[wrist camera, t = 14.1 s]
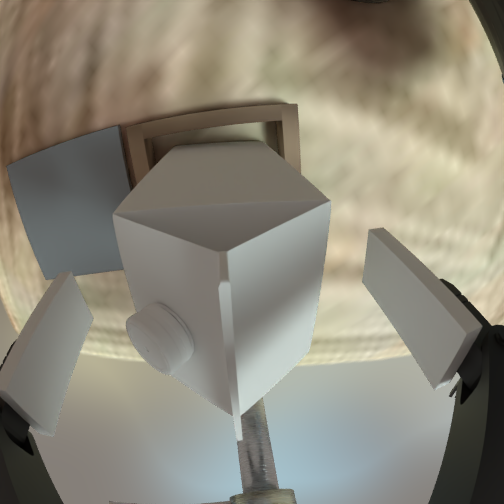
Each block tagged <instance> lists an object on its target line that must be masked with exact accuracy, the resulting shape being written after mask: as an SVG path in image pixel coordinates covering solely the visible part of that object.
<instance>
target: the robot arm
mask: <svg viewBox="0 0 504 504" xmlns="http://www.w3.org/2000/svg"><path fill="white" fill-rule="evenodd" d="M353 1H358V2H366V3H378V2H385V1H389V0H353ZM469 2H470V3H471V5H472V7H473V9H474V11H475V13H476V14H477V16H478V18H479V20H480V22H481V24H482V26H483V28H484V30H485V33H486V35H487V37H488V39H489V41H490V44H491V46H492V48H493V51H494V53H495V56H496V58H497V61H498V63H499V66H500V69H501V72H502V80H503V83H504V0H469ZM362 282H363V284H364V285H365V286H366V288H367V289H368V291H369V292H370V293H371V295H372V296H373V297H374V299H375V300H376V302H377V303H378V305H379V306H380V307H381V309H382V310H383V312H384V313H385V315H386V316H387V317H388V319H389V320H390V322H391V323H392V325H393V326H394V328H395V329H396V331H397V332H398V334H399V335H400V337H401V338H402V340H403V341H404V343H405V344H406V346H407V347H408V349H409V350H410V352H411V353H412V355H413V357H414V358H415V359H416V361H417V363H418V364H419V366H420V367H421V369H422V371H423V373H424V374H425V376H426V377H427V379H428V381H429V382H430V384H431V385H432V387H433V389H434V390H436V389H438V388H440V387H442V386H444V385H446V384H448V383H450V382H451V380H452V378H453V377H454V375H455V374H456V372H458V374H459V375H460V377H461V378H460V379H459V381H458V382H457V384H456V385H455V387H454V388H453V389H452V391H451V392H450V395H449V397H452V396H453V394H454V393H455V391H456V390H457V392H456V396H455V398H456V399H455V406H454V412H453V418H452V423H451V428H450V433H449V437H448V442H447V446H446V450H445V454H444V457H443V461H442V465H441V468H440V471H439V475H438V478H437V481H436V484H435V487H434V490H433V493H432V495H431V498H430V501H429V503H428V504H504V326H503V325H494V326H491V325H490V323H489V322H488V321H487V320H486V319H485V318H484V317H483V316H482V314H481V313H480V312H479V311H478V310H477V309H476V308H475V307H474V306H473V305H472V304H471V303H470V302H468V299H467V298H466V297H465V296H464V295H461V292H460V291H459V290H458V289H457V288H456V287H455V286H454V285H453V284H451V283H449V282H447V281H446V280H444V279H438V278H437V277H436V276H435V275H434V274H433V273H432V272H431V271H430V270H429V269H428V268H427V267H426V266H425V265H424V264H423V263H422V262H421V261H420V260H419V259H418V258H417V257H415V256H414V255H413V254H412V253H411V252H410V251H409V250H408V249H407V248H406V247H405V246H404V245H402V244H401V243H400V242H399V241H398V240H397V239H396V238H395V237H393V236H392V235H391V234H390V233H389V232H388V231H387V230H385V229H384V228H376V229H369V231H368V241H367V249H366V257H365V265H364V272H363V279H362ZM92 321H93V316H92V314H91V312H90V310H89V308H88V306H87V304H86V302H85V300H84V298H83V296H82V294H81V291H80V289H79V287H78V285H77V283H76V280H75V278H74V276H73V273H72V271H69V272H62V273H59V274H58V275H57V276H56V278H55V279H54V281H53V282H52V284H51V285H50V287H49V288H48V289H47V291H46V292H45V294H44V295H43V297H42V299H41V300H40V302H39V303H38V305H37V306H36V308H35V309H34V311H33V313H32V314H31V316H30V318H29V319H28V321H27V323H26V324H25V326H24V328H23V329H22V331H21V333H20V335H19V336H18V339H17V340H16V341H15V342H14V343H13V344H12V345H11V347H10V349H9V351H8V353H7V356H6V357H5V358H4V360H3V364H1V366H0V504H63V502H62V500H61V498H60V496H59V494H58V493H57V490H56V489H55V487H54V484H53V483H52V480H51V478H50V476H49V474H48V472H47V470H46V467H45V465H44V463H43V460H42V458H41V455H40V453H39V450H38V448H37V445H36V443H35V440H34V437H33V435H32V434H31V433H30V432H29V431H28V430H29V426H31V427H33V428H34V429H35V430H36V431H37V432H38V433H40V434H44V435H48V436H53V437H54V433H55V429H56V426H57V422H58V418H59V415H60V411H61V408H62V404H63V401H64V397H65V394H66V391H67V388H68V385H69V382H70V379H71V376H72V373H73V370H74V367H75V365H76V362H77V359H78V356H79V354H80V351H81V348H82V346H83V343H84V341H85V338H86V335H87V333H88V331H89V328H90V326H91V323H92Z"/></svg>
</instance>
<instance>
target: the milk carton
mask: <svg viewBox="0 0 504 504" xmlns="http://www.w3.org/2000/svg"><path fill="white" fill-rule="evenodd" d="M330 213H331V200H329V199H328V198H327V197H326V196H325V195H323V194H322V193H321V192H320V191H319V190H318V189H317V188H316V187H315V186H314V185H313V184H312V183H310V182H309V181H308V180H307V179H306V178H305V177H304V176H303V175H301V174H300V173H299V172H298V171H297V170H296V169H295V168H294V167H292V166H291V165H290V164H289V163H288V162H287V161H285V160H284V159H283V158H282V157H281V156H280V155H278V154H277V153H276V152H275V151H274V150H272V149H271V148H270V147H269V146H268V145H266V144H265V143H264V142H263V141H243V142H219V143H203V144H190V145H179V146H174V147H173V148H172V149H171V150H170V151H169V152H168V153H167V154H166V155H165V156H164V157H163V158H162V159H161V160H160V161H159V162H158V163H157V164H156V165H155V166H154V167H153V168H152V169H151V170H150V172H149V173H148V174H147V175H146V176H145V177H144V178H143V179H142V180H141V181H140V182H139V183H138V184H137V186H136V187H135V188H134V189H133V190H132V191H131V192H130V193H129V195H128V196H127V197H126V198H125V199H124V200H123V201H122V203H121V204H120V205H119V206H118V207H117V209H116V210H115V211H114V213H113V223H114V228H115V234H116V238H117V243H118V247H119V252H120V256H121V260H122V264H123V267H124V271H125V275H126V278H127V282H128V285H129V289H130V292H131V295H132V299H133V302H134V305H135V308H136V312H137V313H135V314H134V315H132V316H131V317H129V318H128V319H127V321H126V329H127V332H128V335H129V337H130V340H131V342H132V343H133V345H134V347H135V348H136V350H137V351H138V353H139V354H140V355H141V356H142V357H143V359H144V360H145V361H146V362H147V363H149V364H150V365H151V366H152V367H153V368H155V369H156V370H158V371H159V372H161V373H163V374H165V375H171V376H173V377H174V378H176V379H177V380H178V381H180V382H181V383H182V384H184V385H185V386H187V387H188V388H190V389H191V390H193V391H194V392H196V393H197V394H199V395H200V396H202V397H203V398H205V399H206V400H208V401H209V402H211V403H212V404H214V405H215V406H217V407H219V408H220V409H222V410H224V411H225V412H227V413H228V414H230V415H232V416H233V419H234V426H235V433H236V440H237V441H240V440H243V438H242V427H241V417H240V416H241V415H242V414H243V413H245V412H246V411H247V410H248V409H249V408H250V407H252V406H253V405H254V404H255V403H256V402H257V401H258V400H259V399H261V398H262V397H263V396H264V395H265V394H266V393H267V392H268V391H269V390H270V389H271V388H273V387H274V385H276V384H277V383H278V382H279V381H280V380H281V379H282V378H283V377H284V376H285V375H286V374H287V373H288V372H289V371H290V370H291V369H292V368H293V367H294V366H295V365H296V364H297V363H298V362H299V361H300V360H301V359H302V358H303V357H304V356H305V355H306V354H307V353H308V352H309V350H310V345H311V341H312V336H313V330H314V325H315V319H316V314H317V308H318V302H319V296H320V290H321V283H322V277H323V270H324V263H325V255H326V248H327V240H328V232H329V223H330Z"/></svg>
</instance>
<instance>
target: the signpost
mask: <svg viewBox="0 0 504 504" xmlns="http://www.w3.org/2000/svg"><path fill="white" fill-rule="evenodd" d="M240 417H241V427H242V438H243V440H240V441H237V445H238V454H239V463H240V471H241V480H242V488H243V494H238V495H235V496H232V497H230V501H225V502H215V503H203V504H297V503H296V499H295V494H294V490H292V489H279V486H278V481H277V476H276V470H275V465H274V459H273V453H272V448H271V442H270V437H269V431H268V426H267V420H266V414H265V409H264V403H263V397H262V398H261V399H259V400H258V401H257V402H256V403H255V404H254V405H253V406H252V407H250V408H249V409H248V410H247V411H246V412H245V413H243V414H242V415H241V416H240ZM109 504H135V503H122V502H113V501H109Z"/></svg>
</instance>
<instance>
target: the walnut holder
mask: <svg viewBox="0 0 504 504" xmlns="http://www.w3.org/2000/svg"><path fill="white" fill-rule="evenodd" d="M265 121H276V131H277V145H278V155H280V156H281V157H282V158H283V159H284V160H285V161H287V162H288V163H289V164H290V165H291V166H292V167H294V168H295V169H296V170H297V171H298V172H299V173H300V174H301V159H300V138H299V120H298V105H297V104H273V105H258V106H246V107H236V108H227V109H219V110H211V111H204V112H197V113H191V114H185V115H179V116H174V117H168V118H163V119H158V120H154V121H149V122H144V123H140V124H136V125H132V126H129V127H126V131H127V137H128V143H129V149H130V154H131V159H132V164H133V169H134V174H135V179H136V184H138V183H139V182H140V181H141V180H142V179H143V178H144V177H145V176H146V175H147V174H148V173H149V172H150V170H151V169H152V168H153V167H154V166H155V165H156V161H155V156H154V150H153V144H152V137H157V136H162V135H167V134H173V133H178V132H184V131H190V130H196V129H203V128H210V127H217V126H225V125H233V124H243V123H253V122H265Z"/></svg>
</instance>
